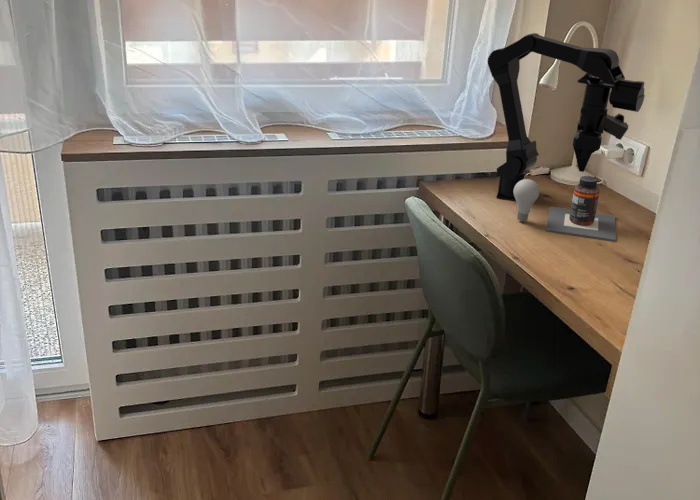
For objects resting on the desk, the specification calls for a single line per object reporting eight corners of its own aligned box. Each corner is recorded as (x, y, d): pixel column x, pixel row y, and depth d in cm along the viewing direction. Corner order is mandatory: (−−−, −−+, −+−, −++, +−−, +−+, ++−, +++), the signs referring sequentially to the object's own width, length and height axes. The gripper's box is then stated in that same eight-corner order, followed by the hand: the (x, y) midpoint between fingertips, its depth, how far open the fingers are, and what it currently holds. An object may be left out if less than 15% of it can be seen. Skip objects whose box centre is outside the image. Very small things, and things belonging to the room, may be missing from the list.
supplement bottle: (590, 217, 173) (599, 175, 169) (596, 227, 168) (604, 183, 163) (566, 216, 174) (574, 173, 169) (571, 225, 168) (579, 181, 164)
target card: (545, 231, 166) (545, 228, 166) (549, 208, 180) (550, 206, 180) (615, 241, 162) (615, 239, 162) (614, 217, 176) (614, 215, 176)
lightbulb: (536, 219, 173) (543, 178, 168) (531, 228, 168) (538, 185, 163) (512, 215, 175) (518, 174, 170) (506, 223, 170) (512, 181, 165)
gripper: (630, 117, 155) (615, 182, 162) (630, 99, 171) (617, 159, 178) (579, 111, 158) (566, 175, 165) (583, 94, 174) (572, 153, 181)
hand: (582, 165), depth 172 cm, fingers open, 9 cm apart
